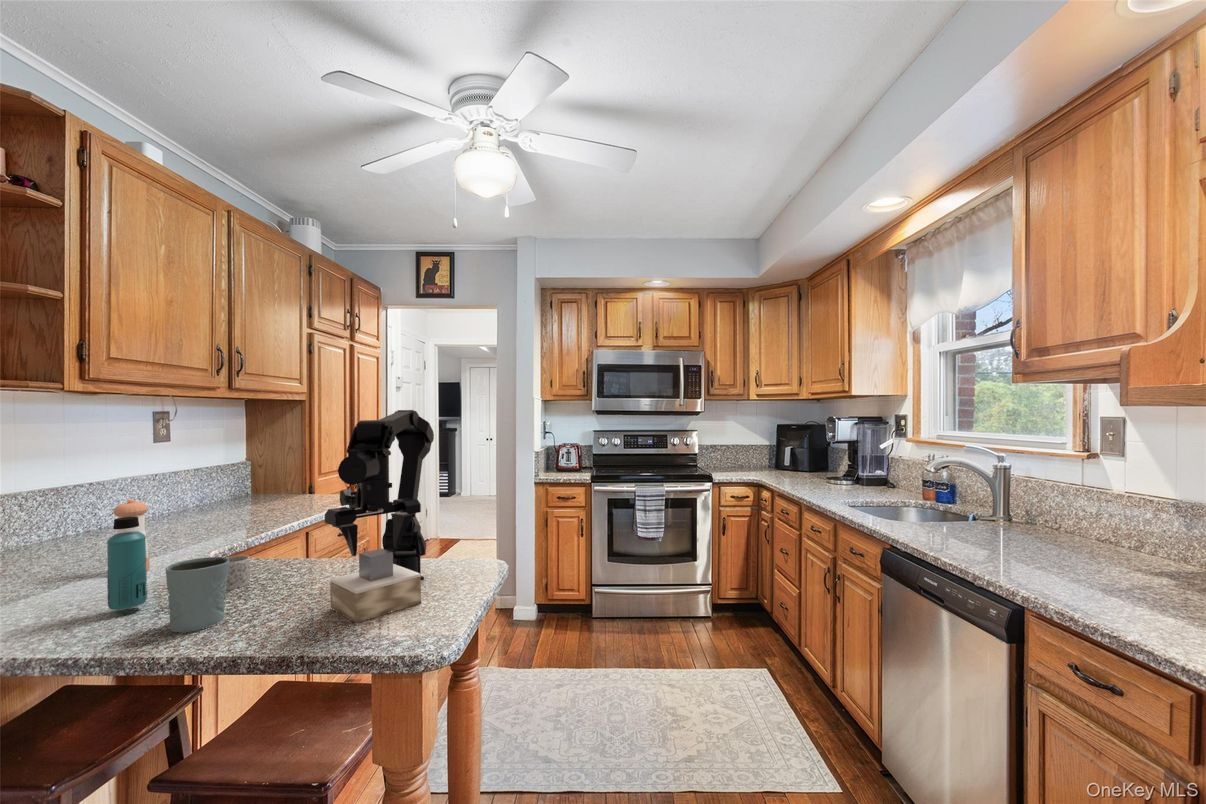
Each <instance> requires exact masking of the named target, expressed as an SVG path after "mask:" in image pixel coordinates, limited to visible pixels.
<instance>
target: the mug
mask: <svg viewBox="0 0 1206 804" xmlns="http://www.w3.org/2000/svg"><path fill="white" fill-rule="evenodd" d="M226 558H228V559H229V568H228V577H227V583H226V587H227V588H226V592H229V591H228V590H234V589H239V588H242V587H245V586H247V585H249V584H250V585H251V566H250V565H251V559H250V558H251V556H249V555H234V556H233V555H232V556H227V557H226ZM250 585H249V586H250ZM245 588H246V587H245ZM242 589H243V588H242ZM239 590H240V589H239ZM234 591H235V590H234Z"/></svg>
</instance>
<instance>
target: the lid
mask: <svg viewBox="0 0 1206 804" xmlns="http://www.w3.org/2000/svg"><path fill="white" fill-rule="evenodd" d="M421 576H422V575H421V574H420V573H417V572H415V571H412V570H409V569H406V568H404V567H401V566H398V565H396V564H393V576H390V577H386V578H382V579H378V580H374V581H368V580H366V579H363V578H361V577H359V571H357V572H356V571H355V572H353V573H352V572H351V573H348V574H344V575H340V576H335V577H332V578H330V579H329V582H332V583H334V584H337V585H339V586H341V587H343V588H345V589H347V590H349V591H351V592H353V593H355V594H358V593H362V592H366V591H369V590H373V589H377V588H380V587H384V586H388V585H391V584H395V583H399V582H402V581H406V580H410V579H413V578H417V577H421Z"/></svg>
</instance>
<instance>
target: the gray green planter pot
mask: <svg viewBox="0 0 1206 804" xmlns="http://www.w3.org/2000/svg"><path fill="white" fill-rule="evenodd" d="M228 568H229V559H228V558H227V557H225V556H224V557H222V556H212V557H211V556H209V557H200V558H192V559H187V560H186V559H185V560H182V561H179V562H175V563H173V564H169V565H167V566H166V567H165V575H166V589H167V591H168V596H167V599H168V601H167V602H168V609H169V611H170V612H169V617H168V618H169V628H170V631H171V630H172V631H171V632H173V633H177V632H179V633H181V632H184V633H190V632H191V631H193V632H197V630H198V631H201V630H200V629H202V630H204V629H203V628H206V627H209V626H212V625H214V624H217V623H218V622H220V621H222V620H224V618H225V608H226V605H225V600H226V597H227V596H226V595H227V591H226V588H227V587H226V583H227V577H228ZM222 622H223V621H222ZM220 623H221V622H220ZM217 625H218V624H217ZM212 627H213V626H212ZM209 628H210V627H209ZM206 629H207V628H206ZM179 633H178V634H179ZM191 633H192V632H191Z"/></svg>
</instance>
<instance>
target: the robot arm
mask: <svg viewBox="0 0 1206 804" xmlns="http://www.w3.org/2000/svg"><path fill="white" fill-rule="evenodd" d="M434 437H435V434H434V430H433V428H432V426H431V423H430V421H428V420H425V419H424V418H423V417H421V416H420V415H419V414H418V412H417V410H414V409H398V410H396V411H395V412H393V413H391V414H388V415H387V416H385V417H382V418H380V419H374V420H373V419H372V420H371V419H370V420H369V419H367V420H363V419H362V420H359V421H357V423H356V425H355V427H354V428H353V431H352V435H351V436H350V439H349V442H348V446H347V449H346V453H347V456H346V457H344V458H343V459H342V460H341V462H340V464H339V465H338V467H337V474H338V477H339V479H340V480H341V481H342V482H343V483H345V484H346V485H350V486H351V485H352V486H354V485H356V491H352V489H351V488H350V489H341V490H339V503H340V505H341V506H340V507H335V508H328V509H327V511H326V512H325V514H324V524H327V525H331V526H332V527H333V528H336V529H338V530H339V531H340V532H341V534H342V535H343V538H344V540H345V542H346V545H347V546H348V550H349V551H350V552H349V553H350V554H351V556H352V557H357V553H358V527H359V526H358V524H356V523H354V522H355V521H356V520H357V519H360V518H361V519H362V518H366V517H367V518H369V517H373V516H380V515H385V514H390V515H391V518H387V520H386V522H385V529H384V532H383V536H382V540H381V541H382V549H385V550H388V551H391V552H393V564H396V565H398V566H401V567H404V568H406V569H409V570H412V571H415V572H417V573H420V574H421V572H422V571H421V566H422V565H421V557H423V556H426V550H427V542H426V541H425V539H424V537H423V535H422V532H421V530H422V526H421V524H420V522H419V520H418V518H417V514H418V513H421V512H422V504H421V502H420V501H419V500H418V498H419V492H420V491H419V489H420V482H421V475H422V467H423V466H422V465H423V460H425V458H426V457H427V455H428V454H429V453H430V451H431V448H432V443H433V442H434V439H435V438H434ZM396 440H397V442H398V443H397V446H398V448H399V451H400V453H401V455H402V463H401V464H402V465H401V472H400V478H399V479H400V480H399V486H398V492H397V493H398V494H397V499H393V501H390V489H392V488H393V483H392V482H390V457H389V456H391V454H392V452H391V450H390V449H391V447H392V445H393V443H394V442H395V441H396ZM347 506H348V507H347ZM422 580H425V577H424V576H423V575H421V581H422Z"/></svg>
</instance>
